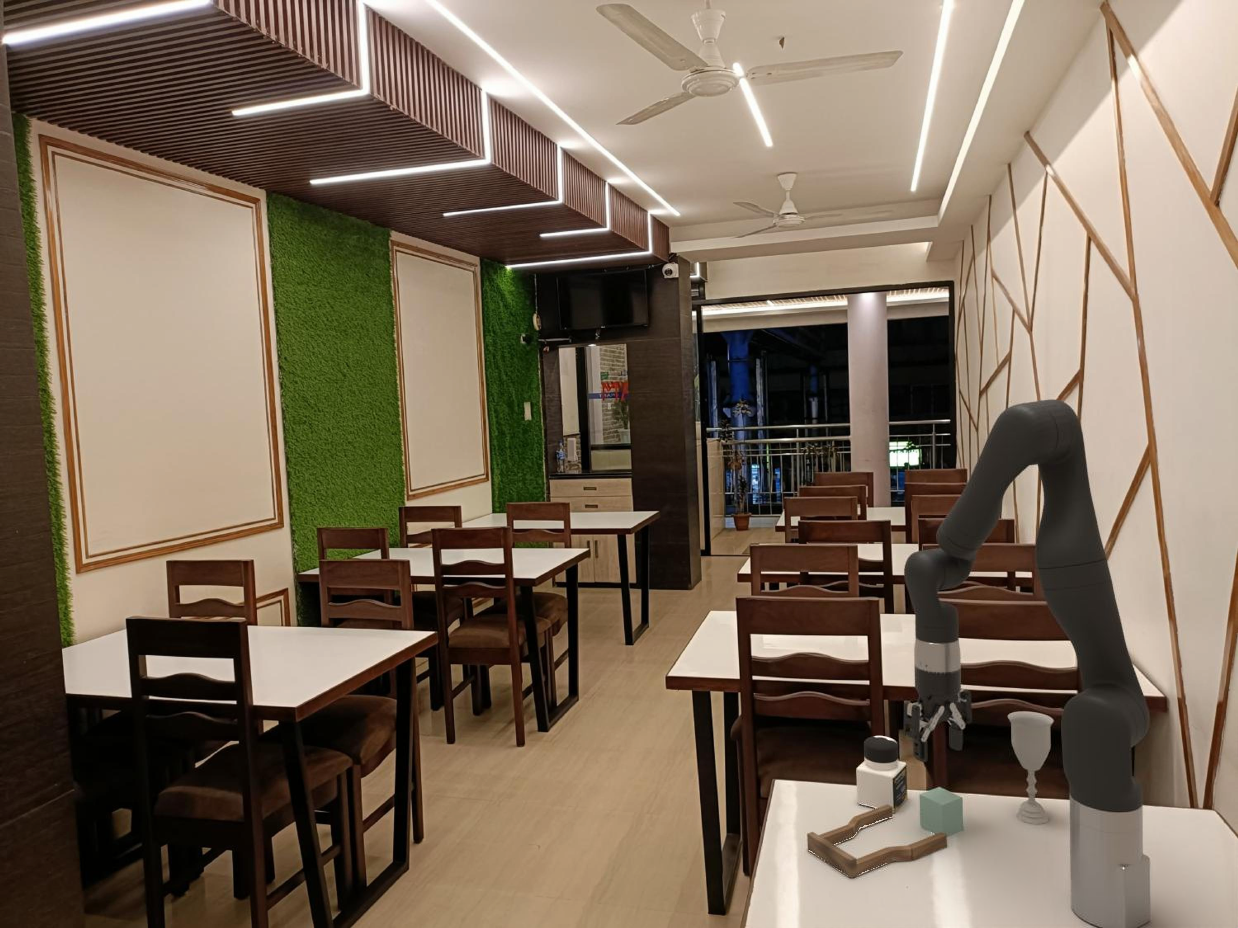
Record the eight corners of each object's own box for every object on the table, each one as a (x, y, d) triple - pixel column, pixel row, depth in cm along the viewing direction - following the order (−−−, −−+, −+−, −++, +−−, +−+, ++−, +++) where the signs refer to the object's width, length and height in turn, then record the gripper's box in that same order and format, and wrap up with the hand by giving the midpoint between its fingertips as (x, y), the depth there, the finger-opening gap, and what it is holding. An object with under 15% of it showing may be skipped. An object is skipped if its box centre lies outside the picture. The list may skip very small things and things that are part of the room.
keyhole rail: (947, 846, 148) (946, 829, 148) (858, 882, 139) (857, 864, 139) (887, 814, 160) (887, 798, 160) (801, 846, 151) (801, 829, 150)
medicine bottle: (894, 814, 160) (892, 750, 159) (856, 804, 165) (854, 742, 164) (908, 798, 166) (906, 736, 165) (871, 789, 170) (869, 729, 169)
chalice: (1008, 821, 155) (1006, 722, 154) (1010, 804, 161) (1009, 709, 160) (1054, 829, 152) (1053, 727, 150) (1055, 811, 158) (1054, 714, 156)
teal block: (963, 830, 153) (962, 797, 153) (942, 838, 151) (942, 804, 150) (940, 819, 158) (939, 786, 157) (920, 826, 155) (919, 794, 155)
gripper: (925, 677, 145) (926, 772, 147) (983, 661, 152) (984, 752, 153) (890, 665, 152) (892, 756, 153) (948, 650, 159) (949, 737, 160)
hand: (938, 754), depth 153 cm, fingers open, 8 cm apart
